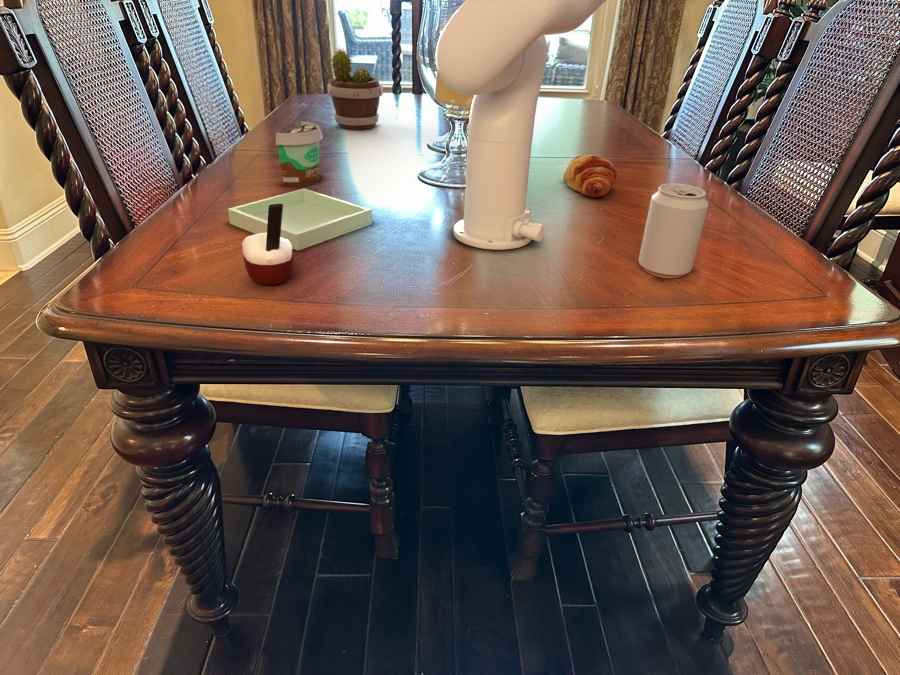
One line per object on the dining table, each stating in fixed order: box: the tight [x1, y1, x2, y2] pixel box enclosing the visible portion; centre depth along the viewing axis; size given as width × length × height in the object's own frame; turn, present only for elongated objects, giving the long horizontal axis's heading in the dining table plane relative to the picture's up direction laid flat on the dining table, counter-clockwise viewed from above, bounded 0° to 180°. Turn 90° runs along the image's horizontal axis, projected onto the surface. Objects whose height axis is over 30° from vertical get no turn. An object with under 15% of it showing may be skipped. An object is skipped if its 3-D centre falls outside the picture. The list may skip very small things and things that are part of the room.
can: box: [638, 182, 709, 279], centre depth 85 cm, size 8×8×12 cm
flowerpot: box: [326, 45, 384, 131], centre depth 160 cm, size 14×15×20 cm
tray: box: [227, 187, 373, 252], centre depth 99 cm, size 17×16×2 cm
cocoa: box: [241, 204, 294, 287], centre depth 77 cm, size 10×6×12 cm, turn 10°
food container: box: [275, 120, 323, 187], centre depth 118 cm, size 12×6×10 cm, turn 168°
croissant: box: [562, 154, 618, 198], centre depth 122 cm, size 21×10×8 cm, turn 179°
